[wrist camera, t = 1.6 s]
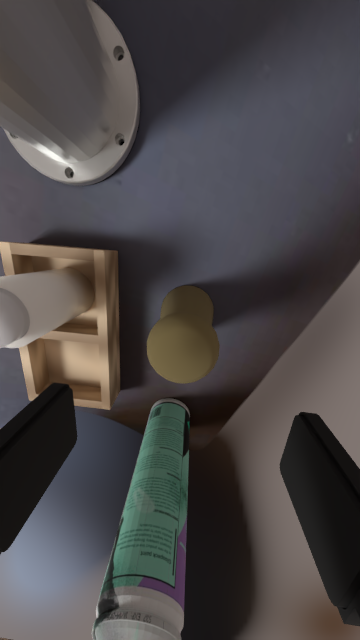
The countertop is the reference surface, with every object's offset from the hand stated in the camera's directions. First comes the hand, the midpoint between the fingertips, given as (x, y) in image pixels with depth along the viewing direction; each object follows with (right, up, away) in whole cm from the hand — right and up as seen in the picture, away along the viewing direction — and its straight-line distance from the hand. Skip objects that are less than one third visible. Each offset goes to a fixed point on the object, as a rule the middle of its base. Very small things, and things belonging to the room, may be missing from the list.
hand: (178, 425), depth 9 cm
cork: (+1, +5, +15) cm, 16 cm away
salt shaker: (-12, +8, +14) cm, 20 cm away
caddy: (-12, +4, +16) cm, 21 cm away
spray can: (-1, -9, +20) cm, 22 cm away
